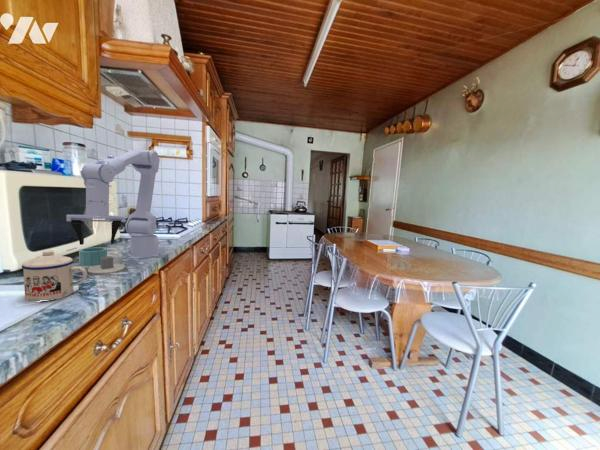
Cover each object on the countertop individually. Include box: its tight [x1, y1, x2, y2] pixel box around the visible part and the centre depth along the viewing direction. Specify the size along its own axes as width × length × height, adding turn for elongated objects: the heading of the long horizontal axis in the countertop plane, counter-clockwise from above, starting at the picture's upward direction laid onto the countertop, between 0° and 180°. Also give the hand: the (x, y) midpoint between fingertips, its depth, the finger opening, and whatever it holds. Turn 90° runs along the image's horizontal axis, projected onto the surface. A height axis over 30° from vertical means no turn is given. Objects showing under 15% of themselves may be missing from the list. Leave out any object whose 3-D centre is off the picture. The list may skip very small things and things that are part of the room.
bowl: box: [78, 246, 108, 267], centre depth 90 cm, size 8×8×5 cm
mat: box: [84, 263, 130, 277], centre depth 85 cm, size 10×10×1 cm
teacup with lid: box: [21, 249, 88, 302], centre depth 63 cm, size 12×9×12 cm
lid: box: [87, 256, 126, 275], centre depth 84 cm, size 10×10×4 cm
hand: (97, 243), depth 80 cm, fingers open, 7 cm apart
